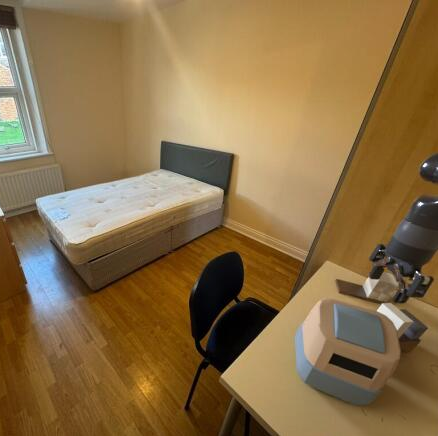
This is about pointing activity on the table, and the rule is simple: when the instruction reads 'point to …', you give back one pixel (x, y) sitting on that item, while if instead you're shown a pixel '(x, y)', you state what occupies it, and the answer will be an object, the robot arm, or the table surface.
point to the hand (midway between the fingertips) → (384, 289)
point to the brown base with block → (370, 288)
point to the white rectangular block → (395, 317)
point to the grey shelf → (407, 343)
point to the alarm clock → (346, 350)
